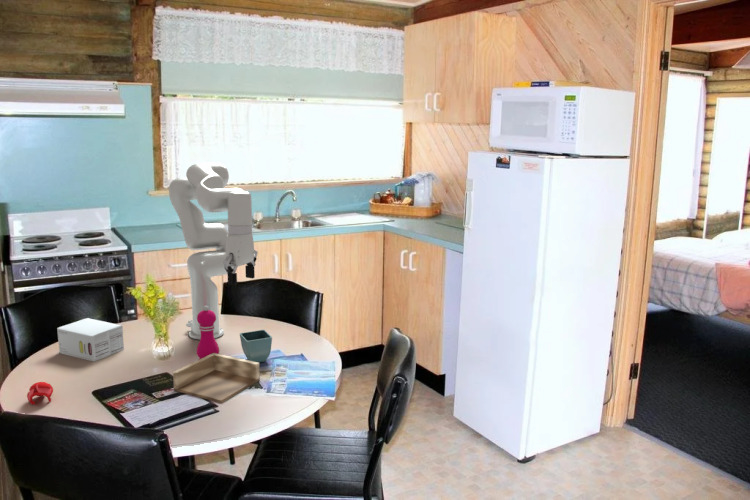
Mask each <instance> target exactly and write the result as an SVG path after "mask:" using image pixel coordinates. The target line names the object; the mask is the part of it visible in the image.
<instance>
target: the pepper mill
mask: <svg viewBox="0 0 750 500" xmlns="http://www.w3.org/2000/svg"><path fill="white" fill-rule="evenodd" d="M203 309H204V310H203V311H201V312H200V313H199V314H198V316H197V321H198V323H199V324H200V325H199V330H200V331H201V339H200V340H199V342H198V344H197V347H196V355H197V357H198V360H199V359H202V358H204V357H206V356H208V355H210V354H212V353H217V354H220V347H219V344H218V342H217V340H216V338H214V334H213V330H214V329H215V324H214V322H215V321H216V315H215V313H214V312H213V311H211V310H209V307H208V306H204V308H203Z"/></svg>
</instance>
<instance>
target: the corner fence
mask: <svg viewBox="0 0 750 500" xmlns="http://www.w3.org/2000/svg"><path fill="white" fill-rule="evenodd" d="M213 370H218V371H222V372H226V373H230V374H235V375H239V376H243V377H247V378H252V379H256V380H257V379H259V378H260V375H261V374H260V371H261V370H260V362H253V361H249V360H248V359H244V358H241V357H240V358H238V357H234V356H230V355H225V354H220V353H219V354H217V353H212V354H210V355H208V356H206V357H204V358H202V359H199V358H198V359H197V360H195V361H193V362H191V363H189V364H187V365H185V366H182V367H181V368H179V369H177V370H175V371H173V372H172V377H173V379H172V380H173V389H174V388H176V389H178V388H180V387H182V386H184V385H186V384H188V383H190V382H192V381H194V380H196V379H198V378H200V377H202V376H204V375H206V374H208V373H210V372H212V371H213ZM260 379H261V378H260Z"/></svg>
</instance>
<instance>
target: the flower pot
mask: <svg viewBox="0 0 750 500" xmlns="http://www.w3.org/2000/svg"><path fill="white" fill-rule="evenodd" d="M239 338H240V345H241V348H242V351H243V354H244V356H245V357H246V358H247V359H246V360H249V361H253V362H258V363H263V362H266V361H267V360H268V358H269V357H270V354H271V350H272V342H273V337H272V335H270V333H268V331H266V330H265V329H259V330H252V331H246V332H240V333H239Z"/></svg>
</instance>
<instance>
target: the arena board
mask: <svg viewBox="0 0 750 500" xmlns="http://www.w3.org/2000/svg"><path fill="white" fill-rule="evenodd" d="M260 380H261V378H259V379H257V380H256V379H252V378H247V377H243V376H239V375H235V374H230V373H226V372H222V371H218V370H213V371H212V372H210V373H208V374H206V375H204V376H202V377H200V378H198V379H196V380H194V381H192V382H190V383H188V384H186V385H184V386H182V387H180V388H178V389H176V388H174V387H173V391H176V392H178V393H182V394H186V395H191V396H193V397H198V398H200V399H201V398H202V399H205V400H209V401H213V402H217V403H221V404H222V403H224V402H226V401H227V400H229V399H231V398H233V397H234V396H236V395H237V394H239V393H241V392H243V391H245V390H246V389H248V388H249V387H251V386H253V385H254V384H257V383H258V382H259V381H260Z"/></svg>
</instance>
